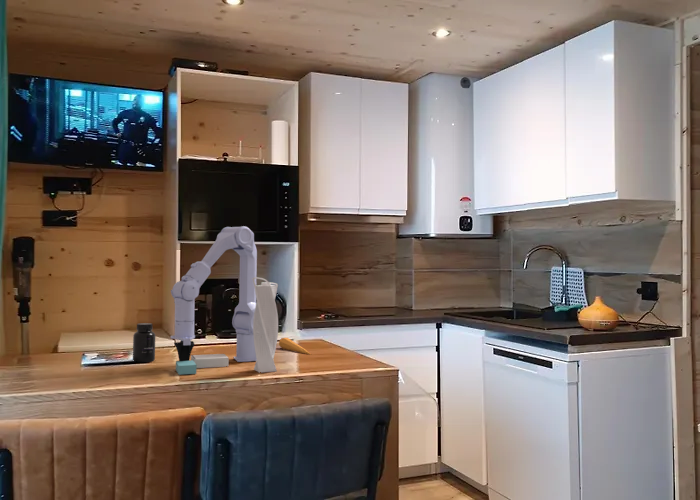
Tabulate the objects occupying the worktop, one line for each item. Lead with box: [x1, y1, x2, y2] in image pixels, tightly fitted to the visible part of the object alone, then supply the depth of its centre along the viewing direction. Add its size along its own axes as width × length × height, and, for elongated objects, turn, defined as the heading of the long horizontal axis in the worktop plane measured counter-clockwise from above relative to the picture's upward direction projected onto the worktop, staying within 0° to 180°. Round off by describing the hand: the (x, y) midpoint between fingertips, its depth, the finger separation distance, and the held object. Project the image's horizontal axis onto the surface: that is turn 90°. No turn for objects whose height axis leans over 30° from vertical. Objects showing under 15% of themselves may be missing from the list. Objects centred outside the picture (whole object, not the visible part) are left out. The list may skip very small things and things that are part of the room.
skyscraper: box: [252, 276, 279, 373], centre depth 186 cm, size 8×8×28 cm
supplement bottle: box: [132, 322, 156, 363], centre depth 200 cm, size 7×7×12 cm
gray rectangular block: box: [190, 353, 229, 369], centre depth 194 cm, size 10×8×3 cm
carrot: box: [278, 337, 312, 355], centre depth 223 cm, size 20×4×4 cm, turn 38°
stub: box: [175, 359, 197, 376], centre depth 182 cm, size 5×8×2 cm, turn 21°
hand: (184, 366), depth 187 cm, fingers closed
